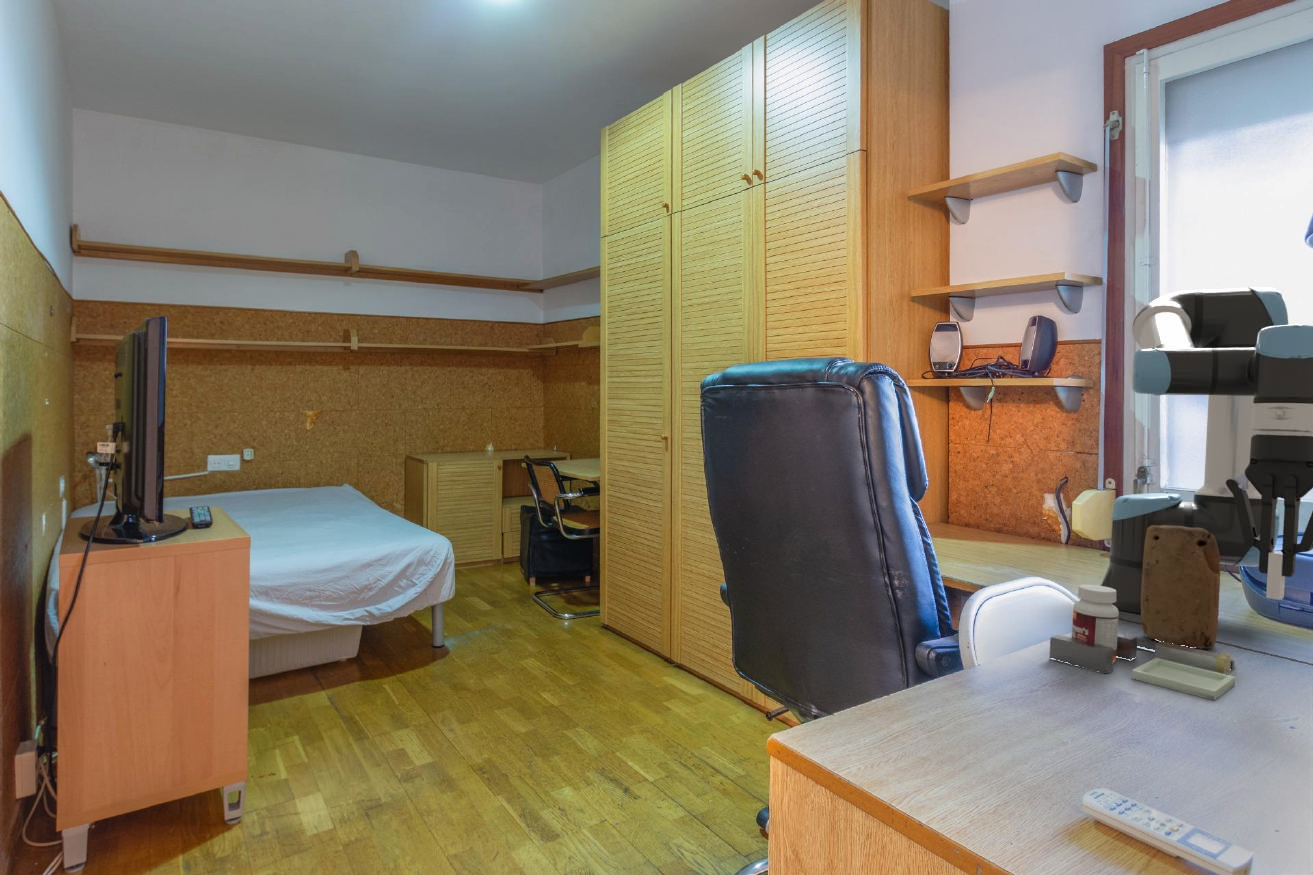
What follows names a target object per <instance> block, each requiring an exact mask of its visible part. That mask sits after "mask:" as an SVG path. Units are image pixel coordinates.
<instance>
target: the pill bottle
mask: <svg viewBox="0 0 1313 875" xmlns="http://www.w3.org/2000/svg"><path fill="white" fill-rule="evenodd" d="M1077 592H1078V593H1077V597H1078V598H1079V600H1076V602H1075V603H1074V604H1073V610H1072V612H1073V613H1072V627H1071V638H1074V639H1078V640H1083V641H1087V642H1091V643H1095V644H1099V645H1104V646H1108V647H1112V648H1113V664H1115V662H1116V660H1117V658H1116V651H1117V635H1118V633H1119V617H1120V616H1119V615H1120V613H1119V609H1117V608H1116V607H1115V606H1114V605H1112V603H1115V602H1116V590H1115V589H1113V588H1109V587H1105V586H1100V585H1096V584H1080V585H1078V591H1077Z"/></svg>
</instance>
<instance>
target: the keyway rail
mask: <svg viewBox="0 0 1313 875" xmlns="http://www.w3.org/2000/svg"><path fill="white" fill-rule="evenodd" d="M1157 643H1159V642H1157V641H1154V640H1153V641H1152V640H1150V639H1149V640H1148V639H1143V638H1139V637H1137V646H1140V647H1145V648H1147V649H1153V650H1155V644H1157ZM1235 663H1236V660H1235V659H1232V658H1231V664H1230V669H1231V670H1233V669H1234V670H1235V667H1236V665H1235ZM1234 670H1233V671H1234Z"/></svg>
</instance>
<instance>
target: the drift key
mask: <svg viewBox="0 0 1313 875" xmlns="http://www.w3.org/2000/svg"><path fill="white" fill-rule="evenodd" d="M1154 658H1159V659H1163V660H1167V661H1171V662H1175V663H1180V664H1184V665H1188V666H1192V667H1196V668H1200V669H1205V670H1209V671H1213V672H1217V673H1221V674H1227V673H1229V672H1230V673H1231V671H1230V664H1231V659H1232V654H1231V653H1226V652H1221V653H1217V652H1212V651H1207V650H1204V649H1196V648H1190V647H1186V646H1181V645H1177V644H1172V643H1168V642H1163V641H1161V642H1158V643H1157V644H1155V653H1154ZM1230 673H1229V674H1230ZM1227 675H1228V674H1227Z"/></svg>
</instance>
